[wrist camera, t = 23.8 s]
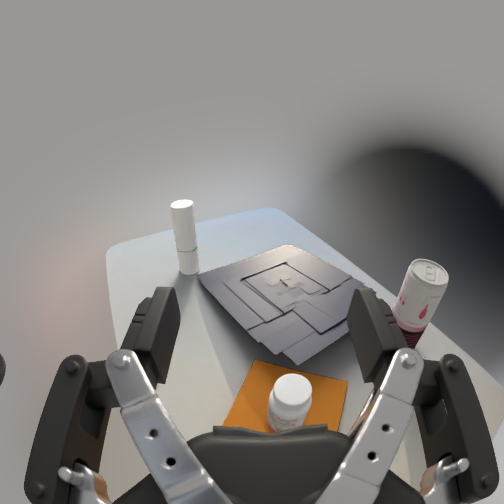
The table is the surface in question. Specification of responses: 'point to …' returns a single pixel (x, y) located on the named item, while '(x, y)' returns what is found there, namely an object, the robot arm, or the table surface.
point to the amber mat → (262, 383)
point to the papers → (286, 299)
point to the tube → (185, 236)
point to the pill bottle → (289, 402)
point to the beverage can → (419, 298)
